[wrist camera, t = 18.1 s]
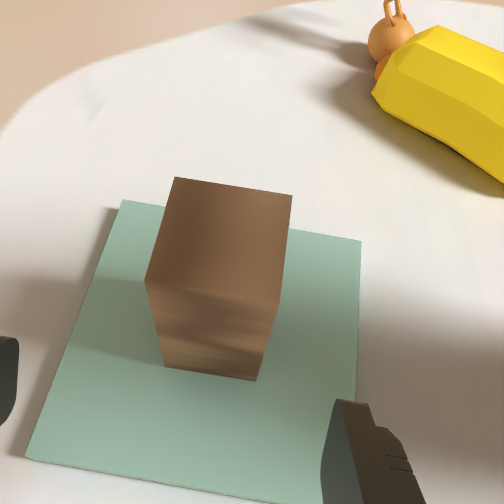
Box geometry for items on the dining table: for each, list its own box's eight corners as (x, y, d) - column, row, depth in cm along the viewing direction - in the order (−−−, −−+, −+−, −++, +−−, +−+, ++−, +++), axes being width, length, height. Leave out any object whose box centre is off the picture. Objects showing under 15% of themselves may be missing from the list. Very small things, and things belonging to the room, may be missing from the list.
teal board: (356, 250, 32) (361, 240, 31) (344, 516, 24) (350, 515, 23) (125, 210, 32) (122, 199, 31) (32, 459, 24) (24, 456, 23)
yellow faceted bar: (541, 225, 35) (578, 170, 38) (606, 163, 29) (643, 105, 33) (345, 102, 40) (393, 63, 44) (368, 30, 35) (421, -9, 38)
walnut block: (266, 299, 28) (292, 195, 20) (255, 381, 26) (279, 301, 17) (184, 286, 28) (174, 176, 20) (164, 367, 26) (144, 280, 17)
